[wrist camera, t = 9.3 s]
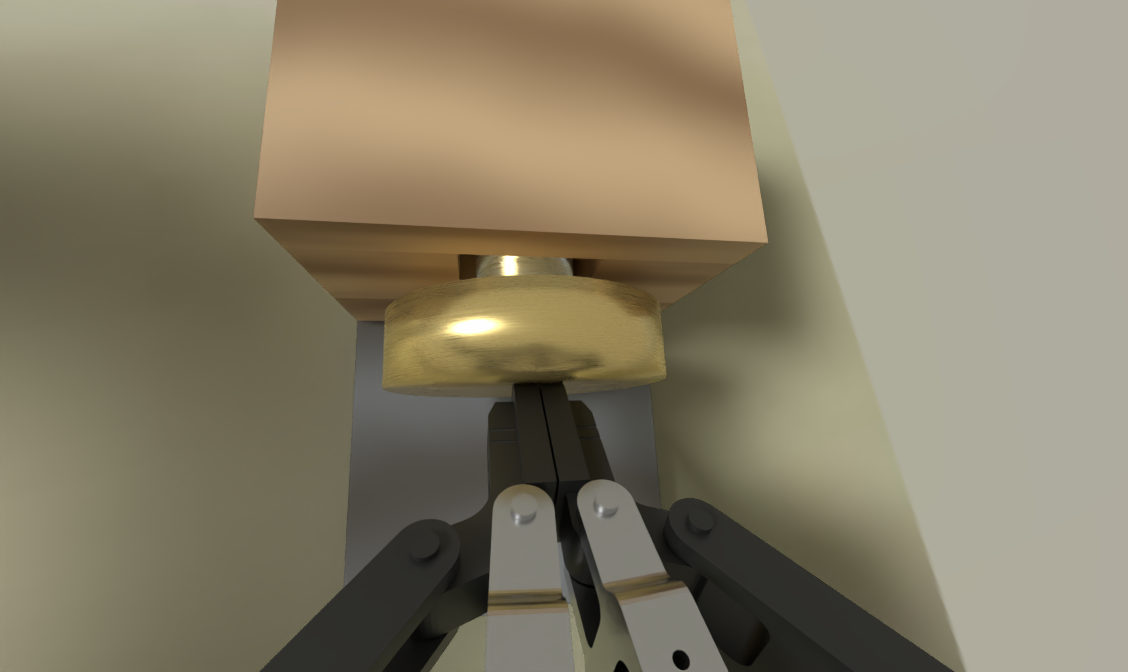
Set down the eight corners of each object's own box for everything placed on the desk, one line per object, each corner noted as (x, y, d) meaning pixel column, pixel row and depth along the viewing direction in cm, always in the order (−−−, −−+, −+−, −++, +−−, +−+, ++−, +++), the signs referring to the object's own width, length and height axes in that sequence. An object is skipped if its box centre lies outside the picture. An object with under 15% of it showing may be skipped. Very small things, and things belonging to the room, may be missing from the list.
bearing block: (657, 581, 18) (845, 730, 9) (348, 622, 16) (178, 888, 6) (620, 141, 22) (720, -57, 13) (374, 116, 20) (293, -147, 11)
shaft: (614, 393, 17) (726, 362, 10) (405, 400, 16) (343, 370, 8) (589, 54, 21) (658, -165, 13) (415, 30, 19) (378, -238, 11)
